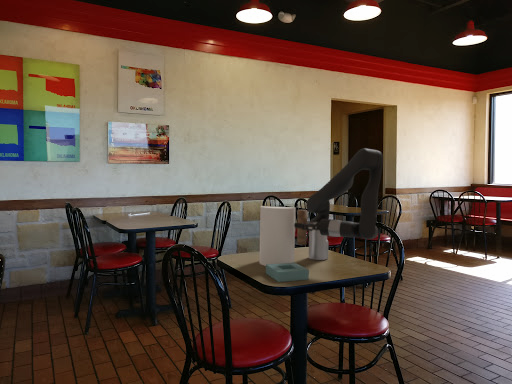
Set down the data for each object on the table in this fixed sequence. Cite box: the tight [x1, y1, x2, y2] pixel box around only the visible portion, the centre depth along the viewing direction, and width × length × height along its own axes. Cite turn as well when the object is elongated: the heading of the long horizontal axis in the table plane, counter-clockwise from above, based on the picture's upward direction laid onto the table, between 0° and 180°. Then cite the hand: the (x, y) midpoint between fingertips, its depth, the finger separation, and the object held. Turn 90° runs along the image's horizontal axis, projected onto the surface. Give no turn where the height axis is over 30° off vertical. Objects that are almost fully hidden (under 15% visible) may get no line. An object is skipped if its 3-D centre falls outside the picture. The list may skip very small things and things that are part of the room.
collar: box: [265, 262, 310, 283], centre depth 171 cm, size 14×14×4 cm
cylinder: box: [258, 205, 297, 267], centre depth 195 cm, size 17×17×28 cm
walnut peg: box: [296, 209, 308, 246], centre depth 185 cm, size 4×4×16 cm
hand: (296, 224), depth 187 cm, fingers closed on walnut peg, 4 cm apart
